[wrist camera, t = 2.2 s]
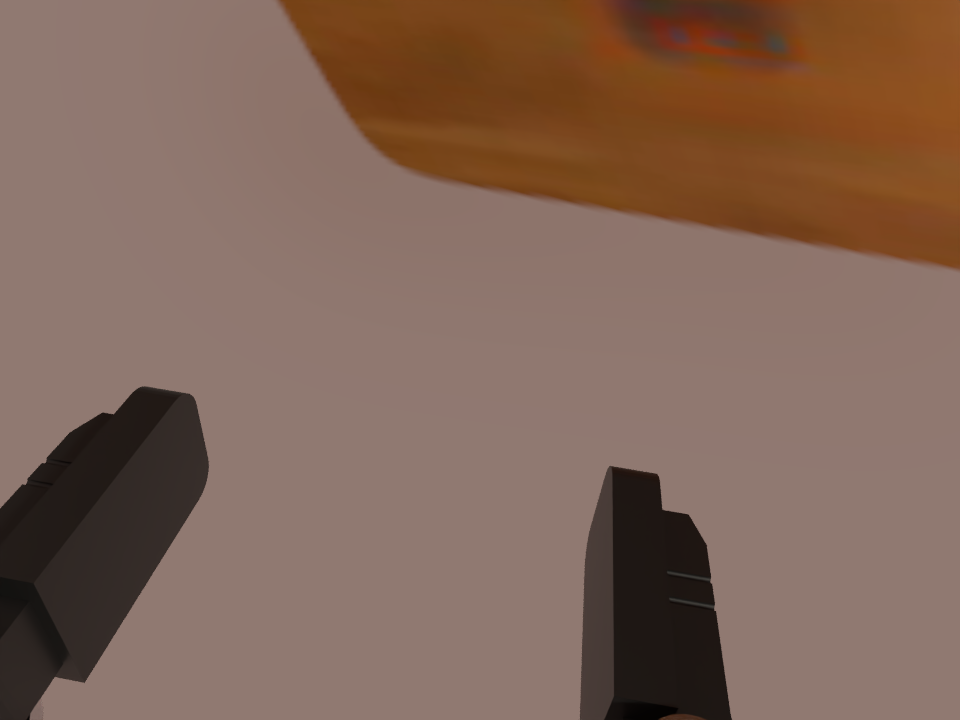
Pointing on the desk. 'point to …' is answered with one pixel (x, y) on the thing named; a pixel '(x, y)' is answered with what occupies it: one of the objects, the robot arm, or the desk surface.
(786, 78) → the desk surface
